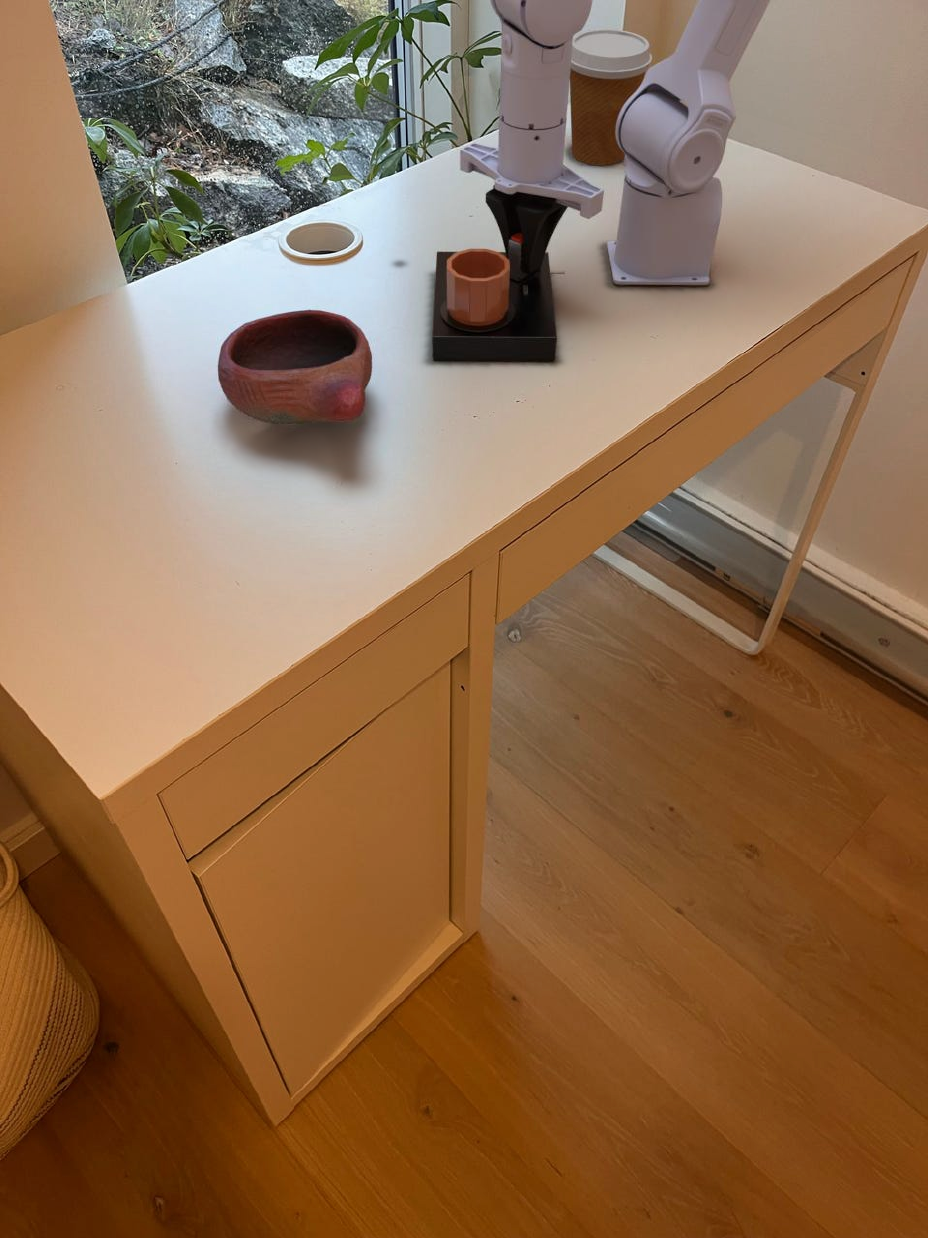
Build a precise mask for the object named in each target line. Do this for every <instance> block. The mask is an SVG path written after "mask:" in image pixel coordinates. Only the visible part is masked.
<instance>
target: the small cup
mask: <svg viewBox="0 0 928 1238" xmlns="http://www.w3.org/2000/svg"><path fill="white" fill-rule="evenodd" d="M455 252H456V253H455V254H453V255H452V256H451V257H450V258H449V259H448V260H447V310H448V311H449V313H450V315H451V316H452V318H454V319H455V320H456V321H458V322H460V323H463V324H466V325H471V326H485V325H490V324H493V323H496V322H498V321H499V320H501V319H502V318H503V317H504V316H505V314H506V311H507V310H508V302H509V279H510V261H509V260H508V259H507V258H506V257H505V256H504V255H503V254H501V253H499V252H500V251H496V250H492V249H489V248H467V249H463V250H461V251H460V250H459V251H455Z"/></svg>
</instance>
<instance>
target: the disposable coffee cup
mask: <svg viewBox="0 0 928 1238" xmlns="http://www.w3.org/2000/svg"><path fill="white" fill-rule="evenodd" d="M650 50H651V49H650V43H649V41H648V40H647V39H646V38H645V37H644V36H642V35H639V34H637V33H634V32H631V31H626V30H621V29H612V28H611V29H609V28H603V29H591V30H586V31H582V32H579V33H576V34H575V35H574V36H573V44H572V56H571V69H570V81H569V96H570V99H569V101H570V102H569V103H570V127H571V128H570V130H571V134H570V135H571V154H572V156H573V157H574V159H576V160H577V161H579V162H582V163H585V164H588V165H593V166H594V165H595V166H606V165H613V164H617V163H620V162H621V161H622V160H624V159H625V153H624V152H623V151H622V150H621V149H620V147H619V145H618V143H617V140H616V134H615V130H616V122H617V119H618V116H619V113H620V111H621V109H622V107H623V106H624V104H625V103H626V102H627V100H628V99H629V98H630V97H631V96H632V95H633V94H634V93H635V92H636V91H637V89H638V88H639V87H640V85H641V84H642V82H643V80H644V78H645V76H646V73H647V71H648V69H649V66H650V64H651V63H652V60H653V55H652V53H651V51H650Z"/></svg>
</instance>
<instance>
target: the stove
mask: <svg viewBox="0 0 928 1238" xmlns="http://www.w3.org/2000/svg"><path fill="white" fill-rule="evenodd" d="M456 252H457V251H436V258H435V259H436V260H435V279H434V295H433V296H434V298H433V316H432V332H431V333H432V335H431V338H432V360H433V361H435V362H436V361H438V362H439V361H440V362H442V361H443V362H444V361H446V362H545V363H547V362H553V363H554V362H555V361H556V352H557V351H556V350H557V342H558V341H557V338H558V336H557V326H556V316H555V307H554V297H553V296H554V295H553V286H552V276H551V275H566V270H551V265H550V264H551V263H550V256H549V252H547V251H546V253H545V256H544V259H543V263H542V266H541V268H539V269H538V270H536V271H535V272H533V273H532V274H530V275H529V276H527V277H525V278H524V279H522V280H521V281H519V282H518V281H515V280H513V279H511V278H510V279H509V301H510V302H511V303H512V304H513V306H514V308H515V316H514V318H513V320H512V321H511V323H509V324H508V325H507V326H505V327H504V328H502V329H499V330H496V331H493V332H487V333H469V332H463V331H460V330H457V329H454V328H452V327H450V326H449V325H447V324H446V323H445V322H444V321H443V319H442V318H441V315H440V308H441V305H442V304H443V302H444V301H445V300H446V299H447V260H448V259H449V258H450V257H451V256H452V255H453V254H455V253H456ZM498 252H499V253H501V254H503V255H504V256H505V257H506V252H505V251H498ZM506 258H507V257H506Z"/></svg>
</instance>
